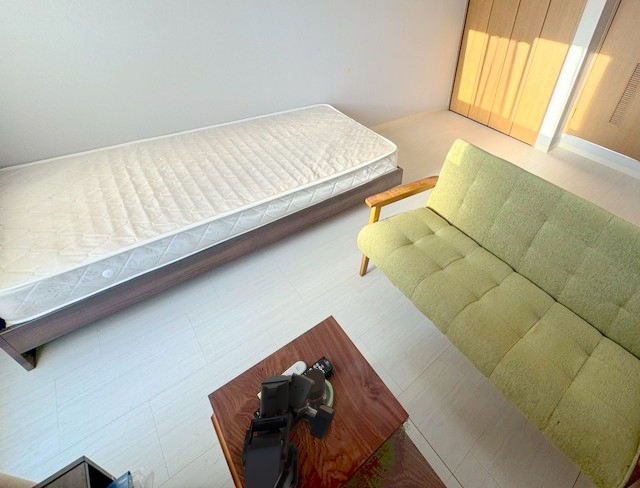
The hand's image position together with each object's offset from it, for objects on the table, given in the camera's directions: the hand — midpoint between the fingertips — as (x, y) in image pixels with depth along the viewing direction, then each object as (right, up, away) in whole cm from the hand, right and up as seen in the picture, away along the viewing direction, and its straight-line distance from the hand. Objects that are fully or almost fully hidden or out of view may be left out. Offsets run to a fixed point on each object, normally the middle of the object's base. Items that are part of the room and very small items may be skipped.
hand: (311, 392), depth 82 cm
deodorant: (-1, -8, +8) cm, 12 cm away
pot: (-1, -9, +9) cm, 12 cm away
